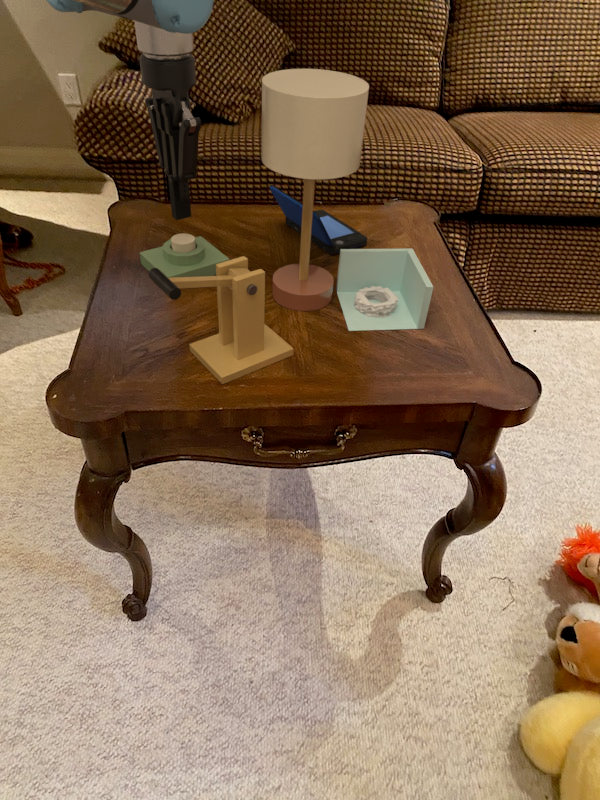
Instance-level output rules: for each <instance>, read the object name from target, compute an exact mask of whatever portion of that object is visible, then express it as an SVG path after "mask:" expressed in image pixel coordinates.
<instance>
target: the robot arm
mask: <svg viewBox="0 0 600 800" xmlns="http://www.w3.org/2000/svg"><path fill="white" fill-rule="evenodd" d="M45 1H46V2H47V3H48V5H49V6H50V7H52V8H53V9H54V10H56V11H58V12H60V13H77V14H83V12H88V11H89V12H90V11H93V12H94V11H95V12H100V13H104V14H107V15H111V16H114V17H118V18H122V19H125V20H129V21H133V22H134V30H135V35H136V36H135V38H136V46H137V50H138V51H139V52H141V54H140V56H139V58H138V59H139V68H140V76H141V82H142V84H143V85H144V86H145V87H146V88H148V89H151V93H152V96H151V97H146V98H145V99H144V103H145V106H146V109H147V113H148V115H149V120H150V124H151V129H152V133H153V138H154V143H155V149H156V153H157V159H158V163H159V167H160V168H161V169H162V168H164V173H165V174H166V176H167V179H168V187H169V199H170V207H171V216H172V219H174V220H176V221H179V220H184V219H188V218H191V217H192V209H191V208H192V206H191V195H190V181H189V180H193V179H196V178H197V171H198V169H197V168H198V153H199V152H198V149H199V133H200V131H201V128H202V120H201V118H200V117H199V116H198V117H197V116H196V117H194V116H193V113H192V112H191V107H192V105H191V101H190V100H191V99H190V96H189V90H190V89H191V88H194V86H196V83H197V72H196V58H195V56H194V55H193V54H192V52H193V51H194V49H195V48H194V33H197V32H198V31H200V29H202V28H203V27H204V26H205V24H207V22H208V21H209V19H210V16H211V15H212V12H213V7H214V2H215V1H214V0H45Z"/></svg>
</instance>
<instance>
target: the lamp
mask: <svg viewBox="0 0 600 800" xmlns="http://www.w3.org/2000/svg"><path fill="white" fill-rule="evenodd" d="M369 93H370V85H369V82H367V81H366V80H364V79H363V78H361V77H358V76H356V75H353V74H350V73H346V72H342V71H335V70H329V69H319V68H289V69H288V68H287V69H279V70H276V71H272V72H269V73H267V74H265V75H264V76H263V77H262V78H261V127H260V128H261V136H260V137H261V138H260V139H261V140H260V141H261V143H260V145H261V146H260V147H261V148H260V149H261V150H260V158H261V163H262V164H263V165H264V166H265V167H266V168H268V169H269V170H270V171H273V172H275V173H277V174H279V175H283V176H287V177H291V178H296V179H302V180H303V190H302V191H303V192H302V204H303V206H302V224H301V234H300V241H299V243H300V244H299V259H298V260H299V262H298V263H291V264H286V265H283V266H281V267H279V268H277V270H275V272H274V273H273V275H272V286H271V288H272V290H271V294H272V298H273V300H274V301H275V303H277V304H278V305H280V306H281V307H283V308H286V309H289V310H292V311H297V312H313V311H317V310H321V309H323V308H325V307H327V306H328V305H329V304H330V303H331V302H332V300H333V294H334V285H335V284H334V283H335V280H334V277H333V275H332V273H330V271H328V270H327V269H325V268H323V267H321V266H318V265H315V264H311V263H310V261H311V260H310V258H311V244H312V241H311V231H312V217H313V211H314V200H315V188H316V187H315V186H316V180H333V179H339V178H343V177H347V176H349V175H352V174H354V173H355V172H357V171H358V170H359V168H360V166H361V162H362V161H361V160H362V153H363V144H364V137H365V136H364V135H365V127H366V119H367V110H368V102H369Z"/></svg>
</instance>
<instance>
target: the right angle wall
mask: <svg viewBox="0 0 600 800" xmlns="http://www.w3.org/2000/svg"><path fill="white" fill-rule="evenodd" d="M431 281H432V280H431V279H430V278H429V276H428V274H427V273H426V270H425V269H424V267H423V265H422V264H421V262H420V259H419V258H418V256H417V254H416V252H415V251H414V248H406V247H405V248H353V249H340V252H339V258H338V267H337V277H336V286H335V292H336V295H337V298H338V300H339V304H340V307H341V310H342V314H343V318H344V321H345V323H346V326H347V330H348V332H354V331H355V332H357V331H358V332H359V331H390V330H391V331H392V330H393V331H396V330H424V329H425V325H426V321H427V317H428V312H429V308H430V304H431V301H432V295H433V291H434V284H433V283H432V282H431Z"/></svg>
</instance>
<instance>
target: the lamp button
mask: <svg viewBox="0 0 600 800" xmlns="http://www.w3.org/2000/svg"><path fill="white" fill-rule="evenodd" d="M195 237H196V236H194V235H193V234H190V233H183V232H182V233H176V234H174V235H172V236H171V238H170V239H171V245H172V250H173V251H175V252H179V253H188V252H191V251H194V250H195V249H196V245H195Z"/></svg>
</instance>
